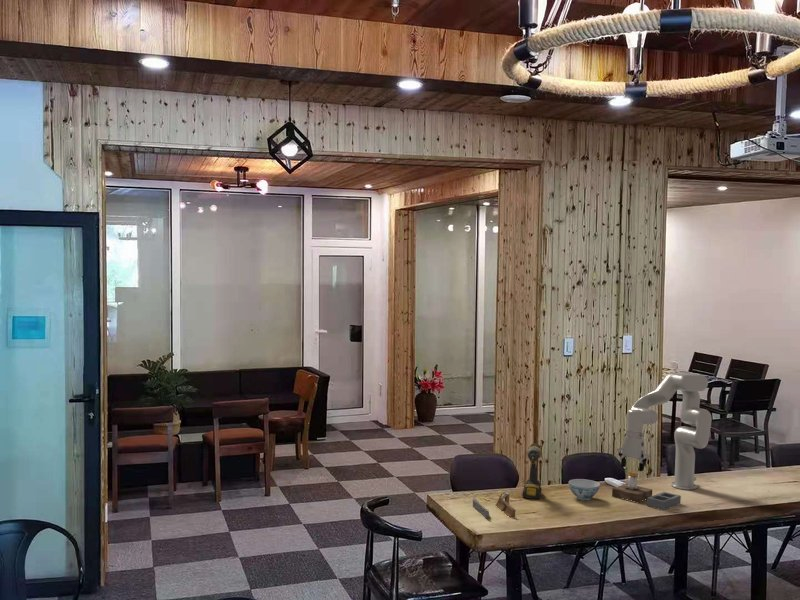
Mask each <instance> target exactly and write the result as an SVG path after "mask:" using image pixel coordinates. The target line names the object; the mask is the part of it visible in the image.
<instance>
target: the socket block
mask: <svg viewBox="0 0 800 600" xmlns="http://www.w3.org/2000/svg"><path fill="white" fill-rule="evenodd" d="M611 491H612V492H611V497H613V496H614V498H617V497H619V498H618V499H621V498H624V499H623V500H625V499H628V500H632V501H635V502H634V503H636V502H639V503H641V502H643V501H642V500H644V501H646V500H645V499H647V498H648V497H651V496H653V489H652V488H647V487H644V486H640V485H639V486H638V485H637V491H632V490H628V483H625V484H621V485H618V486H615V487H612V489H611ZM628 500H627V501H628ZM632 501H631V502H632ZM640 501H641V502H640Z"/></svg>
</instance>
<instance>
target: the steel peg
mask: <svg viewBox="0 0 800 600" xmlns="http://www.w3.org/2000/svg"><path fill="white" fill-rule="evenodd" d="M627 481H628V483H627V484H628V490H632V491H637V486H638V473H637V472H634V471H629V472H628V480H627Z"/></svg>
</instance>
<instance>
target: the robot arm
mask: <svg viewBox="0 0 800 600" xmlns="http://www.w3.org/2000/svg"><path fill="white" fill-rule="evenodd" d="M708 386H709V380H708V378H707V377H706V376H705V375H704V374H700V373H699V374H698V373H693V372H688V371H687V372H685V371H682V372H669V373H667V374H666V375H665V377H664V378H663V379H662V381H661V382H660V383H659V384H658V385H657V387H656V388H655V389H654V390H653V391H652V392H649V393H647V394H645V395H643V396H642V397H640V398H638V400H636V402H635V403H634V404H633V405H632V407H631V409H628V410H627V413H626V431H625V432H626V434H625V436H624V438H623V441H622V442H623V444H622V447H619V448H617V449H616V451H617V453H618V454H617V455H618V456H619V458H620V460H621V461H620V466H621V468H624V467H625V468H626V466H627V458H632V459H636V460H638V461H639V465H638V471H639V472H642V471H644V470H645V464H646V462H647V461H648V460H649V458H650V457H651V456H650V454H649V453H648V452H646V450H645V448H646V447H645V440H644V437H645V434H644V433H643V425H654V424H655V423H657V421H658V418H659V414H658V413H657V411H655V410H653V409H649V408H650V407H654V406H658V405H665V404H666V403H668V402H669V401H670V400H671V399H672V397H673V396H674V395H675V394H676V392H678V391H681V393H682V402H681V409H680V416H679V417H680V421H681V422H682V423H684V424H685V425H686V424H687V425H689V426H684V425H683V426H678V427H677V428H676V429H675V430H674V435H673V436H674V443H675V459H674V462H675V464H674V481H672V482H671V483H670V484H671V486H672V487H673V488H675V489H679V490H686V491H687V490H689V491H690V490H691V491H692V490H696V489H697V488H698V486H697V484H695V482H696V481H697V477H695V468H696V467H695V466H696V465H695V464H696V463H695V462H696V452H695V450H694V448H696V449H701V450H702V449H705V448H706V447H707V446H708V443H709V439H710V434H711V427H712V419H713V418H712V414H711V412H710V411H709V410H708V409H705V408H701V407H700V405H701V396H700V393H699V392H704V391H705V390H706V389H707V388H708ZM690 426H695V427H696V428H695V427H690Z"/></svg>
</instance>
